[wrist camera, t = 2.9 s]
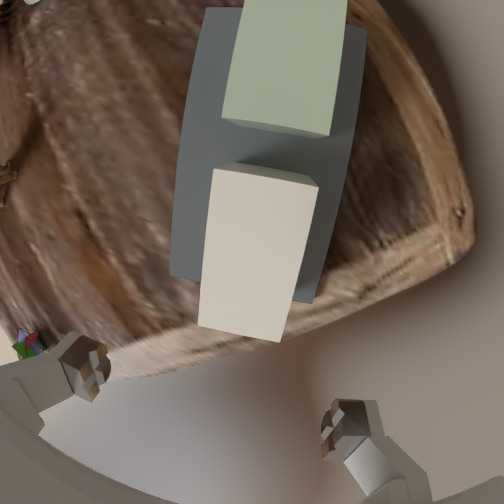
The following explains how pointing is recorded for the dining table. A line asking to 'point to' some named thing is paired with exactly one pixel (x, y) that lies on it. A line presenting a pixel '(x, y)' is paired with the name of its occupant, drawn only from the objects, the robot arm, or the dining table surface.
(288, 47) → the pale green prism
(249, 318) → the beige eraser-shaped brick
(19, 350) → the geometric puzzle
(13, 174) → the lion figurine
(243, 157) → the slate board
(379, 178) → the dining table surface
